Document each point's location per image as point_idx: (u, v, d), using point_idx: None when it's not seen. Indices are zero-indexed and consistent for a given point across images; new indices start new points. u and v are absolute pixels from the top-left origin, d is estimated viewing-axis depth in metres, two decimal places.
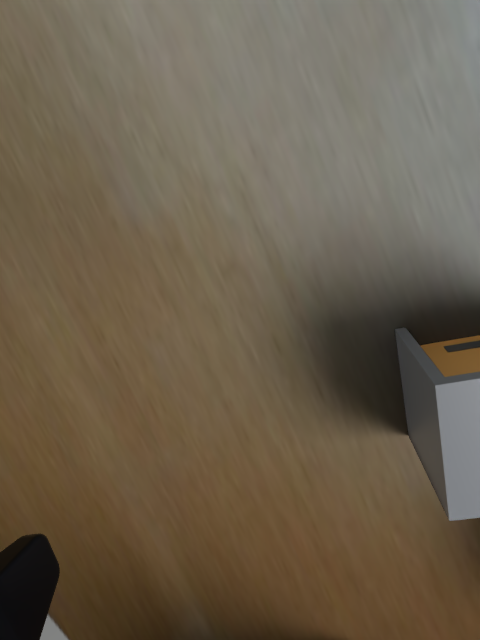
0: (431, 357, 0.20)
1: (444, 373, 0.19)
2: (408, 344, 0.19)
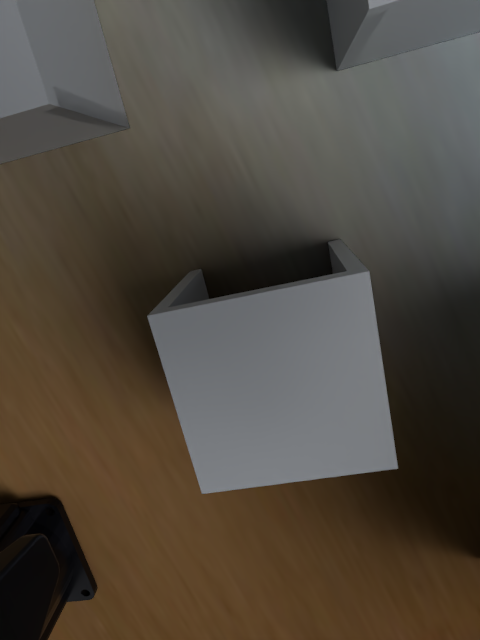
0: None
1: None
2: None
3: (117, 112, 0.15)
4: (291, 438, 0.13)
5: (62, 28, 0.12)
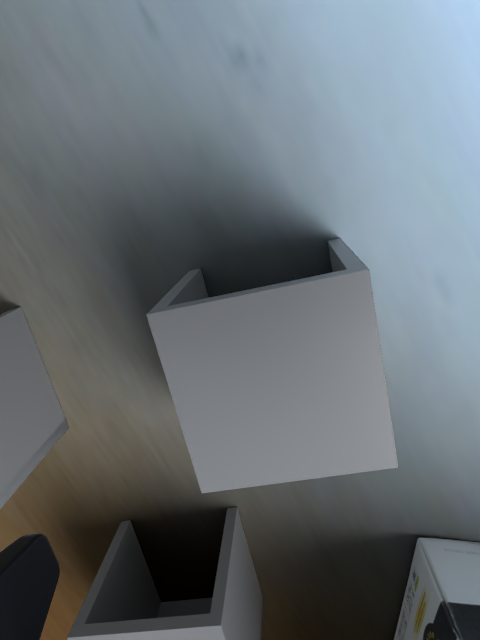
0: None
1: None
2: None
3: (56, 430, 0.20)
4: None
5: (4, 427, 0.17)
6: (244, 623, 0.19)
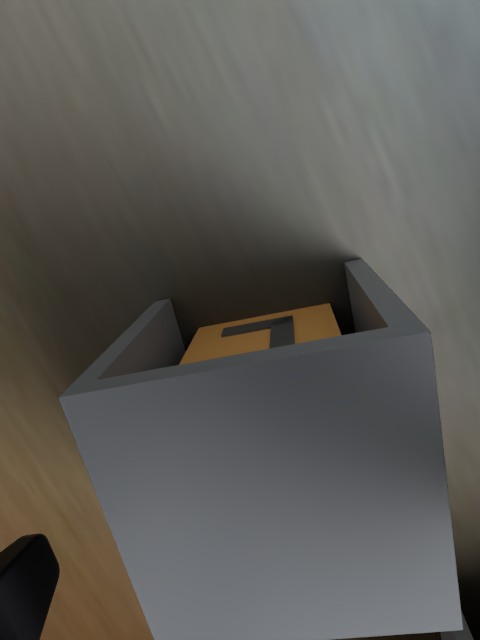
0: (191, 345, 0.12)
1: None
2: (135, 322, 0.11)
3: None
4: None
5: None
6: None
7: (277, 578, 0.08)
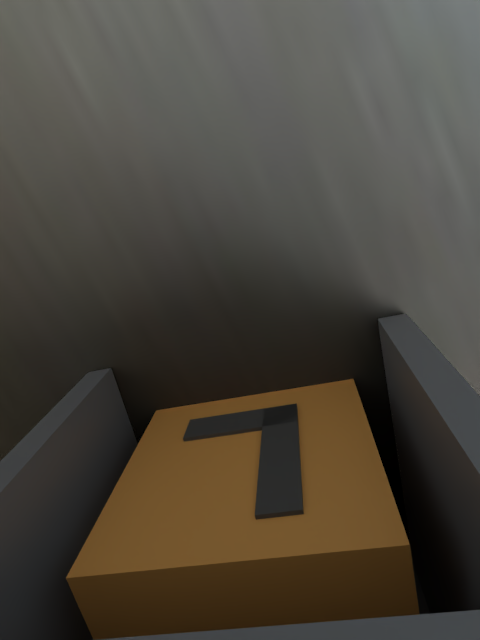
0: (135, 455, 0.07)
1: (94, 533, 0.06)
2: (37, 428, 0.07)
3: None
4: None
5: None
6: None
7: None
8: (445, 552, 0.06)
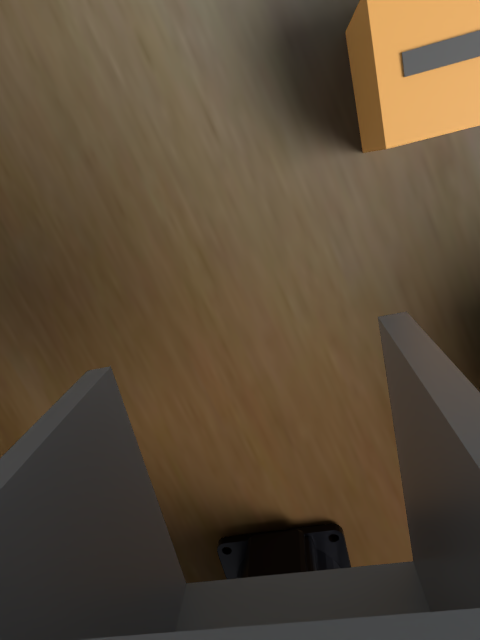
0: (354, 16, 0.13)
1: None
2: (36, 426, 0.07)
3: None
4: None
5: None
6: None
7: None
8: (446, 551, 0.06)
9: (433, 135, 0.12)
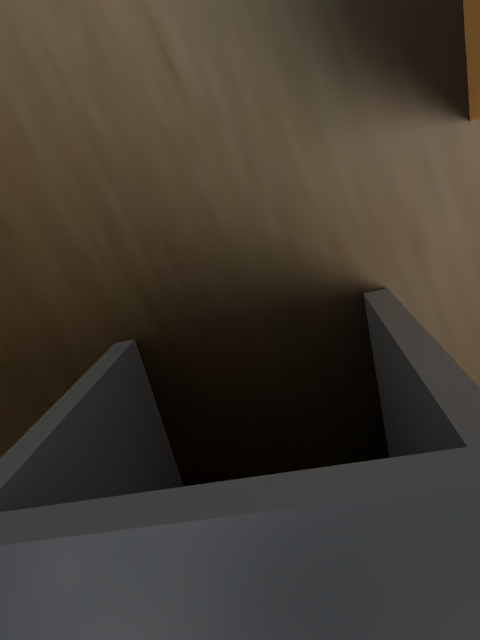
0: None
1: None
2: (79, 382, 0.08)
3: None
4: None
5: None
6: None
7: None
8: None
9: None
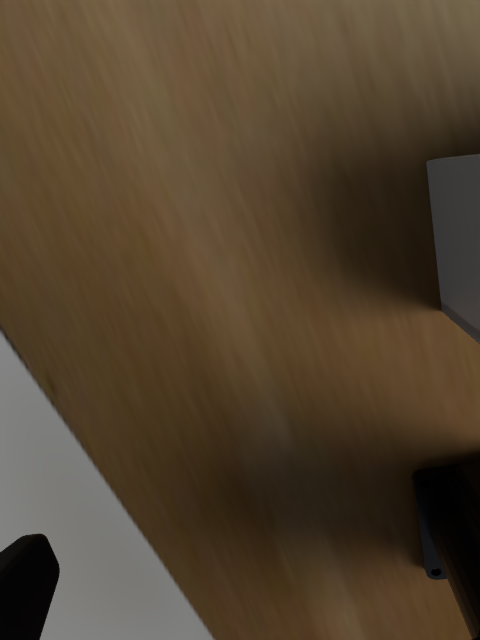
0: None
1: None
2: (448, 158, 0.15)
3: None
4: None
5: None
6: None
7: None
8: None
9: None
